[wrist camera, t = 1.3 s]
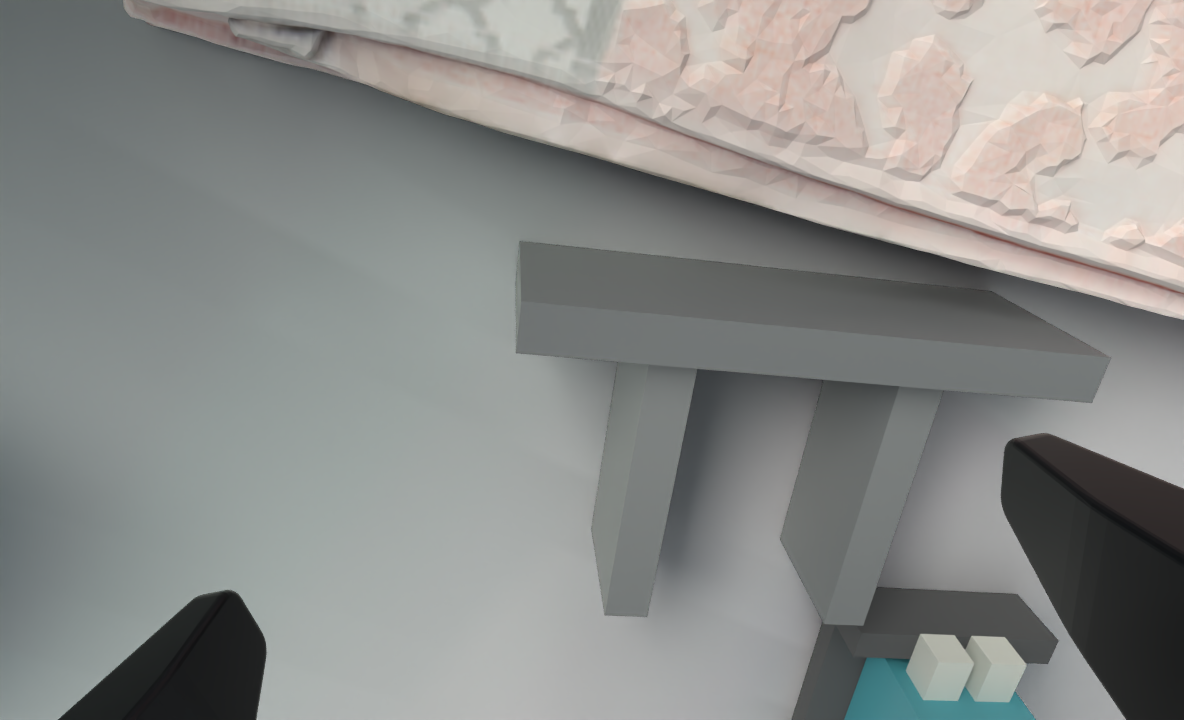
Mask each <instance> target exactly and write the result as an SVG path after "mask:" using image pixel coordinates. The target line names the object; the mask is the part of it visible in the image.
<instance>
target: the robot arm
mask: <svg viewBox="0 0 1184 720" xmlns="http://www.w3.org/2000/svg"><path fill="white" fill-rule="evenodd" d="M1001 503H1002V507H1003V511H1004V513H1005V516H1006V518H1007V520H1008V522H1009V524H1010V526H1011V527H1012V529H1013V531H1014V533H1015V535H1016V537H1017V539H1018V541H1019V542H1020V544H1021V546H1022V548H1023V550H1024V552H1025V554H1026V556H1027V557H1028V559H1029V561H1030V563H1031V565H1032V567H1033V569H1034V571H1035V572H1036V574H1037V576H1038V578H1039V580H1040V582H1041V584H1042V586H1043V587H1044V589H1045V591H1046V593H1047V595H1048V597H1049V599H1050V601H1051V602H1052V604H1053V606H1054V608H1055V610H1056V612H1057V614H1058V616H1059V617H1060V619H1061V621H1062V623H1063V624H1064V626H1065V628H1066V630H1067V631H1068V633H1069V635H1070V637H1071V638H1072V640H1073V641H1074V643H1075V644H1076V646H1077V648H1078V649H1079V651H1080V652H1081V654H1082V655H1083V657H1084V658H1085V660H1086V661H1087V663H1088V664H1089V666H1090V667H1091V669H1092V670H1093V672H1094V673H1095V674H1096V676H1097V677H1098V679H1099V680H1100V682H1101V683H1102V685H1103V686H1104V688H1105V689H1106V691H1107V692H1108V694H1109V695H1110V696H1111V698H1112V699H1113V701H1114V702H1115V704H1116V705H1117V707H1118V708H1119V710H1120V711H1121V713H1122V714H1123V716H1124V717H1125V719H1126V720H1184V489H1183V488H1181V487H1178V486H1176V485H1173V484H1171V483H1168V482H1166V481H1164V480H1161V479H1159V478H1156V477H1154V476H1151V475H1149V474H1147V473H1144V472H1142V471H1139V470H1137V469H1134V468H1132V467H1129V466H1127V465H1125V464H1122V463H1120V462H1117V461H1115V460H1112V459H1110V458H1108V457H1105V456H1103V455H1100V454H1098V453H1095V452H1093V451H1090V450H1088V449H1086V448H1083V447H1081V446H1078V445H1076V444H1073V443H1071V442H1069V441H1066V440H1064V439H1061V438H1059V437H1056V436H1054V435H1051V434H1047V433H1041V434H1035V435H1030V436H1024V437H1019V438H1014V439H1012V440H1010V441H1009V442H1008V443H1007V445H1006V447H1005V451H1004V460H1003V473H1002V486H1001ZM265 662H266V642H265V638H264V636H263V633H262V632H261V630H260V628H259V627H258V625H257V623H256V622H255V620H254V618H253V617H252V615H251V613H250V612H249V610H248V608H247V607H246V605H245V603H244V602H243V600H242V598H241V597H240V596H239V594H237V593H236V592H234V591H232V590H224V591H219V592H213V593H208V594H203V595H200V596H198V597H196V598H194V599H193V600H192V601H191V602H189V603H188V604H187V605H186V606H185V607H184V608H183V609H182V610H180V611H179V612H178V613H177V614H176V615H175V616H174V617H173V618H171V619H170V620H169V621H168V622H167V623H166V624H165V625H164V626H163V627H161V628H160V629H159V630H158V631H157V632H156V633H155V634H154V635H152V636H151V637H150V638H149V639H148V640H147V641H146V642H145V643H143V644H142V645H141V646H140V647H139V648H138V649H137V650H136V651H135V652H133V653H132V654H131V655H130V656H129V657H128V658H127V659H126V660H124V661H123V662H122V663H121V664H120V665H119V666H118V667H117V668H115V669H114V670H113V671H112V672H111V673H110V674H109V675H108V676H106V677H105V678H104V679H103V680H102V681H101V682H100V683H99V684H98V685H96V686H95V687H94V688H93V689H92V690H91V691H90V692H89V693H87V694H86V695H85V696H84V697H83V698H82V699H81V700H80V701H78V702H77V703H76V704H75V705H74V706H73V707H72V708H71V709H69V710H68V711H67V712H66V713H65V714H64V715H63V716H62V717H61V718H59V719H58V720H256V718H257V712H258V706H259V699H260V693H261V687H262V680H263V674H264V668H265Z"/></svg>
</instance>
